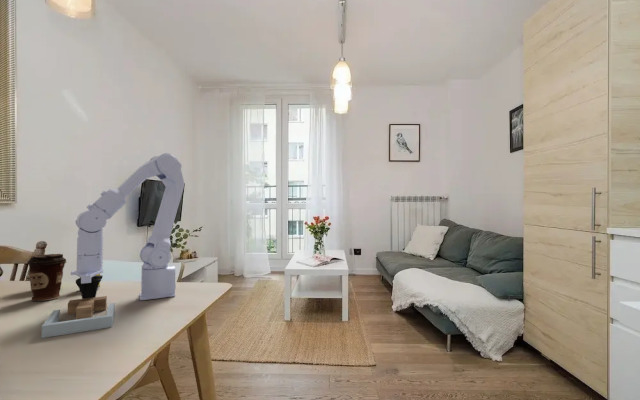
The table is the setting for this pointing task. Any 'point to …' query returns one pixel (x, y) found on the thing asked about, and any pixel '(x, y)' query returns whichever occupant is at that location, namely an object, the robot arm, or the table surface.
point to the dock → (76, 323)
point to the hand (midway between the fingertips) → (88, 304)
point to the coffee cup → (46, 276)
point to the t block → (86, 306)
